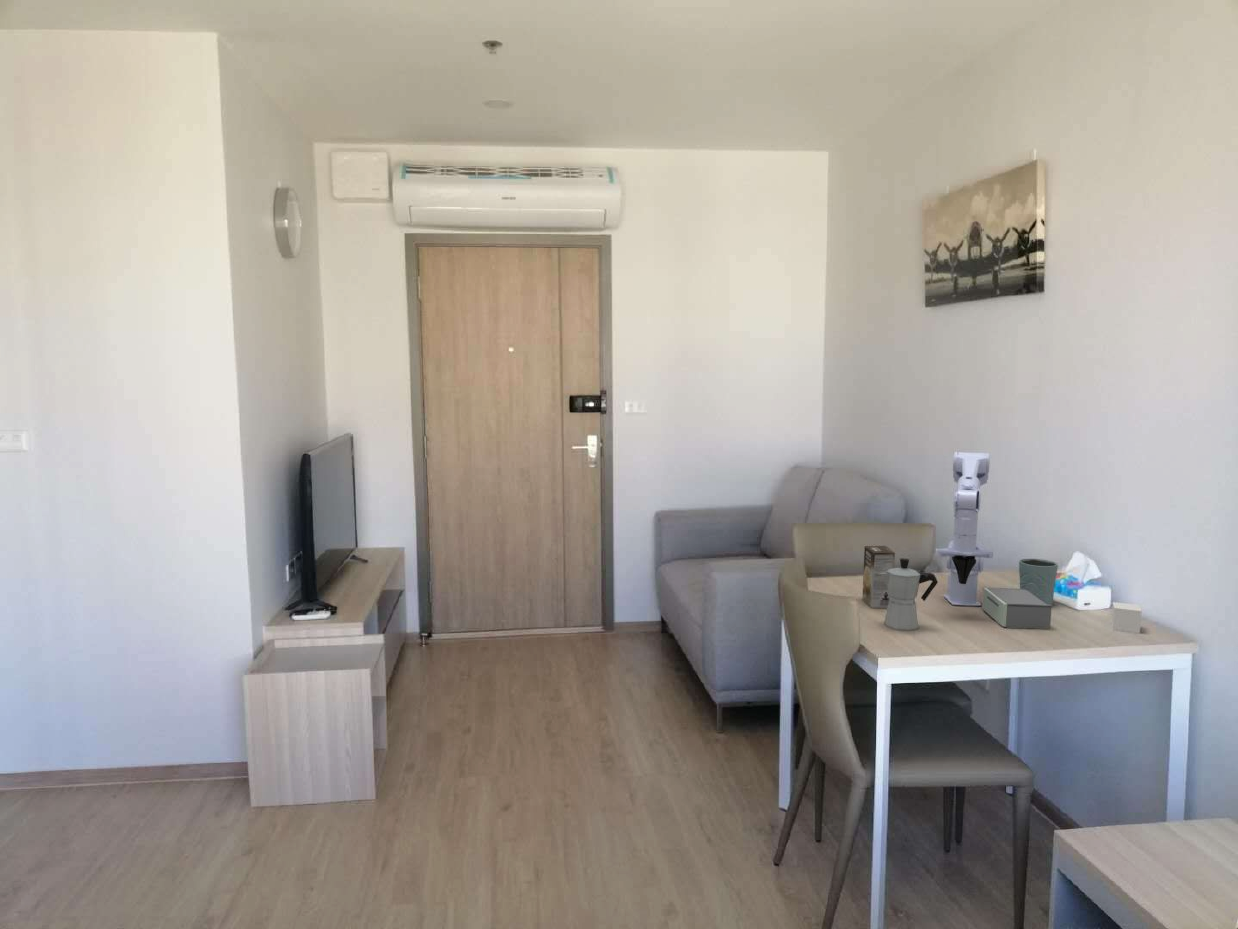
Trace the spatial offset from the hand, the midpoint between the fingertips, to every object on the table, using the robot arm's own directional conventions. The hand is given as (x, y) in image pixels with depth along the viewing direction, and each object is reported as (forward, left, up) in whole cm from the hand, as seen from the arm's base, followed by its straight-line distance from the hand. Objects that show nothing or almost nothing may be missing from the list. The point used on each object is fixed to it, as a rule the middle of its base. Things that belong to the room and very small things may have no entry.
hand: (962, 583), depth 226 cm
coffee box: (-10, -20, -10) cm, 25 cm away
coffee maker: (+10, -17, -10) cm, 22 cm away
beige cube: (+6, +40, -10) cm, 42 cm away
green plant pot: (-16, +26, -10) cm, 32 cm away
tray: (0, +14, -9) cm, 17 cm away
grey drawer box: (0, +14, -9) cm, 17 cm away
